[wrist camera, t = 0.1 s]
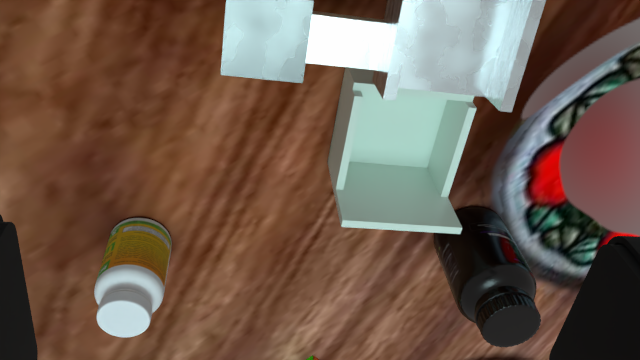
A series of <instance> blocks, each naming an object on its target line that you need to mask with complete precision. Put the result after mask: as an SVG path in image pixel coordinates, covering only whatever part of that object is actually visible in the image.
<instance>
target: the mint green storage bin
mask: <svg viewBox="0 0 640 360" xmlns="http://www.w3.org/2000/svg"><path fill="white" fill-rule="evenodd" d="M373 73H374V70H368V69H359V68H349V67H345V71H344V77H343V82H342V87H341V93H340V98H339V104H338V109H337V114H336V120H335V125H334V130H333V136H332V141H331V146H330V152H329V157H328V167H329V172H330V176H331V181H332V186H333V191H334V195H335V200H336V205H337V210H338V214H339V219H340V224H341V227H353V228H369V229H385V230H401V231H417V232H433V233H449V234H461V231H462V226H461V224H460V222H459V220H458V218H457V215H456V213H455V211H454V209H453V207H452V205H451V203H450V201H449V199H448V195H449V192H450V189H451V186H452V183H453V180H454V177H455V174H456V170H457V167H458V164H459V161H460V158H461V155H462V152H463V149H464V146H465V143H466V139H467V136H468V133H469V130H470V127H471V124H472V121H473V118H474V115H475V112H476V107H475V105H474V104H473V99H474V96H472V95H463V94H453V93H443V92H433V91H424V90H414V89H404V88H398V91H397V96H396V101H395V100H385V99H382V97H381V95H380V93H379V92H378V90H377V88H376V86H375V85H374V83H373V81H372V78H373Z"/></svg>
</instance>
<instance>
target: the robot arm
mask: <svg viewBox="0 0 640 360" xmlns="http://www.w3.org/2000/svg"><path fill="white" fill-rule="evenodd" d="M0 360H37V344H36V339H35V333H34V327H33V322H32V316H31V310H30V305H29V299H28V294H27V288H26V282H25V277H24V271H23V265H22V260H21V254H20V249H19V243H18V237H17V232H16V228H15V225H14V224H13V223H12V222H3V219H2V216H1V215H0ZM549 360H640V237H629V236H617V237H613V238H612V239H611V240H610V241H609V242H608V244H606V245H603V246H602V247H601V248H600V249H599V251H598V253H597V255H596V257H595V259H594V261H593V263H592V265H591V267H590V270H589V272H588V274H587V276H586V278H585V280H584V282H583V284H582V286H581V289H580V291H579V293H578V295H577V297H576V299H575V301H574V303H573V306H572V308H571V310H570V312H569V314H568V316H567V318H566V320H565V322H564V325H563V327H562V329H561V331H560V333H559V335H558V337H557V339H556V342H555V344H554V346H553V348H552V350H551V353H550V358H549Z"/></svg>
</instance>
